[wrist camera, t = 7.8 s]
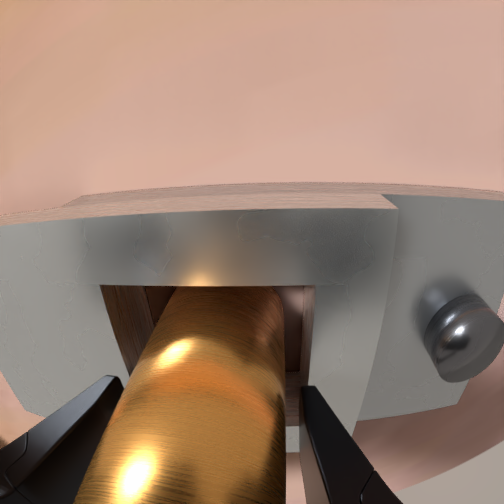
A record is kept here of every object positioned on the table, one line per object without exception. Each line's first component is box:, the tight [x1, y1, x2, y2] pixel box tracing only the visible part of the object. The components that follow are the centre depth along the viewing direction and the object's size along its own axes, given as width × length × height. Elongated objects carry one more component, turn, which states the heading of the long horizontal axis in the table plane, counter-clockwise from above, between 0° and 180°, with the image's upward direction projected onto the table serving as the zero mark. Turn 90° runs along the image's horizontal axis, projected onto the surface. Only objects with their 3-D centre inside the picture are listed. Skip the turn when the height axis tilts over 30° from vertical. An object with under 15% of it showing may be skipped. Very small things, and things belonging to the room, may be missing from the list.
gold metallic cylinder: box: [73, 286, 286, 504], centre depth 8 cm, size 4×4×9 cm
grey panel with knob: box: [0, 183, 504, 453], centre depth 11 cm, size 10×22×3 cm, turn 93°
